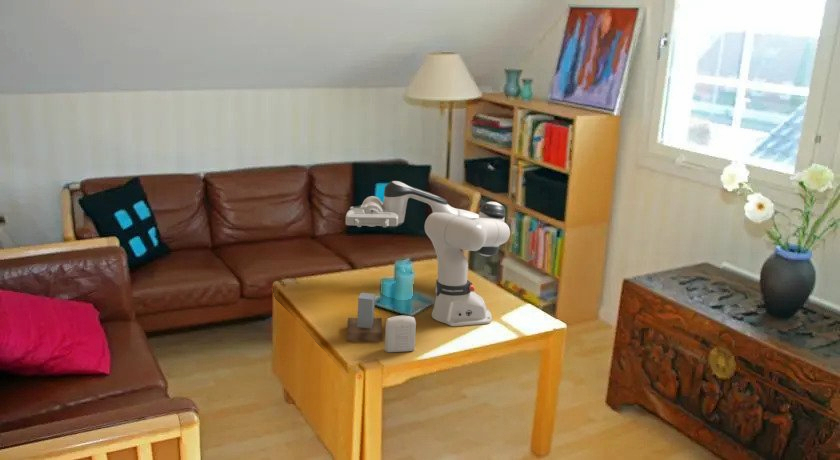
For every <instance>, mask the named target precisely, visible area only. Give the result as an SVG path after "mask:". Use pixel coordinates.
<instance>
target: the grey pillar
mask: <svg viewBox="0 0 840 460" xmlns="http://www.w3.org/2000/svg"><path fill="white" fill-rule="evenodd" d="M375 301H376V294H375V293H369V292H360V295H359V296H358V300H357V302H358V304H357V317H356V318H357V327H359V328H368V329H371V328H372V325H373V323H374V318H375V306H376V305H375V304H376V302H375Z"/></svg>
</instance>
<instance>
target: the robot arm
mask: <svg viewBox="0 0 840 460" xmlns="http://www.w3.org/2000/svg"><path fill="white" fill-rule="evenodd" d="M383 190H384V191H383V201H381V199H380V198H379V197H377V196H374V195H371V196H367V197H366V198H365V199H364V200H363V201H362V204H361V205H356V206H355V205H354V206H350V207H349V210H347V212H346V215H345V225H346V226H357V227H358V228H361V227H362V226H367V227H373V228H374V227H376V226H377V227H378V226H379V227H382V228H393V229H394V228H397V227H399V226H401V225H402V224H403V223H404V222H405V218H406V213H407V211H406V210H407V206H408V200H409V199H414V200H417V201H419V202H422V203H425V204H428V206H430V208H431V211H432V213H430V214H429V215H428V216H427V218H426V219H425V222H424V232H425V234H426V235H427V237H428V238H429V239H430V241H431V243H432V246H433V248H434V251H435V254H436V258H437V278H436V281H435V282H436V283H435V300H434V301H435V302H434V305H433V309H432V311H431V317H432V319H434V320H435V321H437V322H440V323H444V324H446V325H448V326H449V327H463V326H476V325H487V324H490V323H491V322H492V319H493V317H492V313H491V311H490V310H489V309H488V308H487V306H486V302H485V301H484V299H483V297H482V296H481V295H479V294H478V293H476V292H475V290H476V287H475V286H474V285H473V283H472V281H471V280H470V279H468V273H469V262H468V259H467V257H466V256H465V255H464V254H463V252H462V251H468V252H469V251H470V252H476V253H477V254H479V255H481V256H482V257H483V256H484V257H491V256H496V255H497V254H498V252H499V250H500V246H502V245H503V244H506V243H507V242H508V241H509V239H510V236H511V229H510V227H509V225H508V223H506V222H505V221H506V220H505V218H506V208H505V206H504V205H502V204H501V203H499V202H497V201H487V202H484V203H482V204H481V206H480V209H479V214H478V213H476V212H474V211H469V210H467V209H466V210H465V209H461V208H455V207H453V206H451V205H450V204H448V200H447V199H445V198H443V197H442V196H439V195H436V194H434V193H431V192H429V191H425V190H422V189H420V188H416V187H414V186H411V185H408V184H406V183H404V182H402V181H398V180H392V181H390V182H388V183H387V184H385V186H384V189H383Z"/></svg>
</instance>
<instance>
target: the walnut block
mask: <svg viewBox="0 0 840 460" xmlns="http://www.w3.org/2000/svg"><path fill="white" fill-rule="evenodd" d="M346 342H347V343H348V342H350V343H352V342H353V343H356V342H357V343H359V342H361V343H362V342H363V343H365V342H367V343H368V342H369V343H373V342H374V343H382V342H383V319H382V317H374V323H373V325H372V328H371V329H368V328H359V327H357V317H347V329H346Z"/></svg>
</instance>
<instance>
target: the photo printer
mask: <svg viewBox="0 0 840 460" xmlns="http://www.w3.org/2000/svg"><path fill="white" fill-rule="evenodd" d="M416 326H417V322H416V318H415V317H414V316H411V315H396V316H392V317H391V316H390V317H388V318H387V319H386V321H385V337H384V351H385V352H386V353H401V352H413V351H415V350H416V349H415V348H416V347H415V346H416V330H417V328H416Z"/></svg>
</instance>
